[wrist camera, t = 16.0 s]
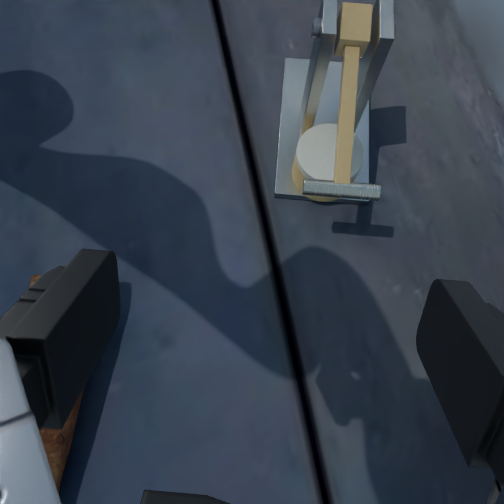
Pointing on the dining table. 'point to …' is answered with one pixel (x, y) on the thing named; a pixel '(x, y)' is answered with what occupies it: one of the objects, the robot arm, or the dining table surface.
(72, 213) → the dining table surface
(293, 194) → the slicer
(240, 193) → the dining table surface
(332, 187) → the wood and metal t-shape
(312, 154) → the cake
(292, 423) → the dining table surface
